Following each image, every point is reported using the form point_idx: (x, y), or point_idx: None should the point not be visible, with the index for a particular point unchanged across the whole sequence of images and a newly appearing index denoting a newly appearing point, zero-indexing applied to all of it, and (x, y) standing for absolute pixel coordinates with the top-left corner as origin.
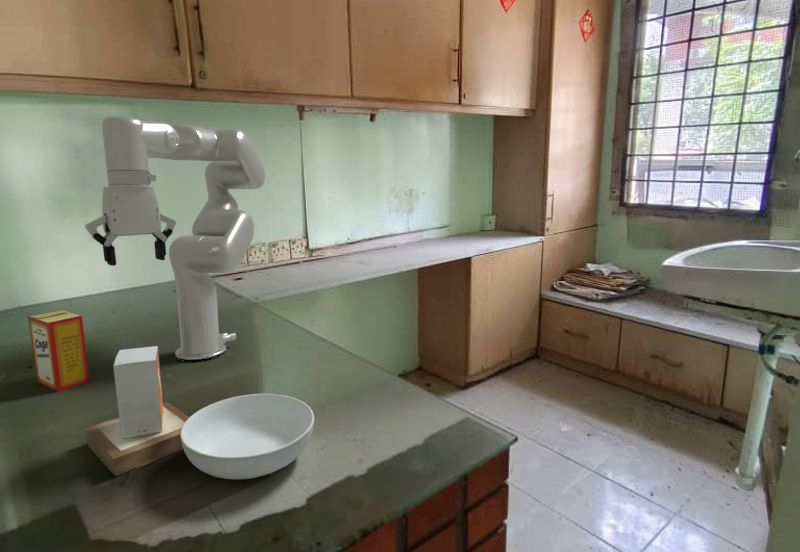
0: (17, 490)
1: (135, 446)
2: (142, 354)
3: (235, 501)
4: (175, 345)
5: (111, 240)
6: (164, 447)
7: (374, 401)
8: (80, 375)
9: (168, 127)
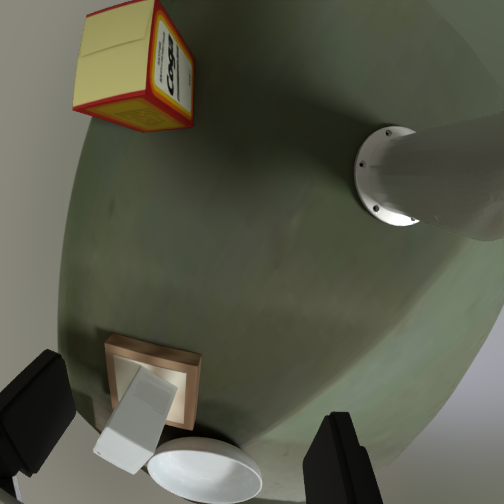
0: (63, 349)
1: None
2: (126, 458)
3: None
4: (396, 89)
5: (10, 493)
6: None
7: None
8: (174, 125)
9: None
